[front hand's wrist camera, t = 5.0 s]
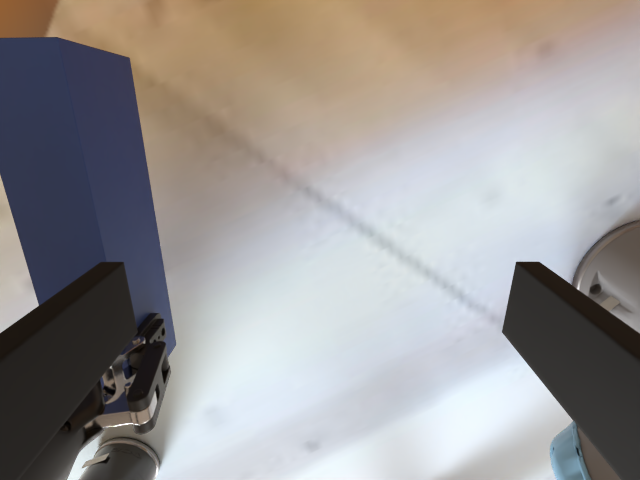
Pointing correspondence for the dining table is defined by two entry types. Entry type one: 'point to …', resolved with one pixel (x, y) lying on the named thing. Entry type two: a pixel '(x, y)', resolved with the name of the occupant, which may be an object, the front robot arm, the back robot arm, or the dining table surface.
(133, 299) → the bar
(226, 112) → the dining table surface
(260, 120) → the dining table surface
